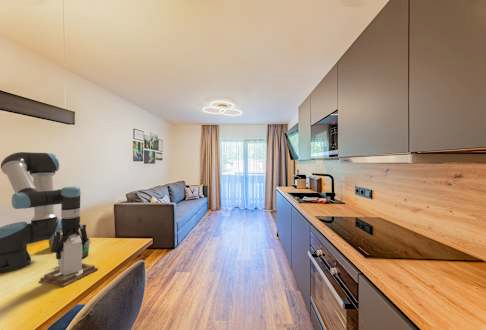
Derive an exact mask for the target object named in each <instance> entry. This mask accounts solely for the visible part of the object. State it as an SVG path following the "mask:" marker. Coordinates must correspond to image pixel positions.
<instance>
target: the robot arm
mask: <svg viewBox="0 0 486 330" xmlns="http://www.w3.org/2000/svg"><path fill="white" fill-rule="evenodd" d="M0 169H1V171H2V173H3V174H5V175H6V176H7V179H8V181H9V183H10V185H11V188H12V189H13V190H12V191H14V193H13V194H12V195H11V206H12V208H13V209H14V210H19V209H20V210H22V209H24V210H25V209H34V210H33V211H34V216H33V218H32V219H30V223H28V222H27V221H19V222H13V223H9V224H6V225H3V226H1V227H0V274H2V273H9V272H12V271H15V270H19V269H21V268H24V267H26V266H28V265H30V264H31V263H32V258H31V255H30V253H29V250H28V245H30V244H34V243H35V244H36V243H38V242H42V241H49V239H52V238H54V240H53V245H52V249H51V250H50V252H51V253H54V254H55V259H56V260H57V265H58V266H59V265H61V266H62V265H63V252H62V249H63V245H64V242H66V240H67V238H68V237H69V236H71V235H74V234H76V235H77V236H78V235H80V238H81V241H82V250H84V245H85V242H88V239H87V238H88V234H87V231H86V230H87V229H86V228H87V225H86V224H84V223H82V224H80V223H81V187H79V186H66V187H62V188H61V189H55V190H54V186H53V185H54V184H53V177H54V175H56V172H58V171H59V169H60V161H59V158H58V157H57V155H56V154H54V153H51V152H50V153H49V152H28V151H27V152H24V151H21V152H20V151H19V152H14V153H11V154H8V155H7V156H6V157H4V159H3V160H2V161H1V163H0ZM31 177H32V178H31ZM54 205H61V206H60V207H61V211H60V214H61V215H60V217H61V218H59V217H58V216H57V215H56V214H55V210H54V207H55V206H54ZM79 230H80V231H79ZM61 233H63V234H62V236H63V237H62V236H61V237H62V238H61V240H60V235H61ZM59 241H60V242H59Z"/></svg>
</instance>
